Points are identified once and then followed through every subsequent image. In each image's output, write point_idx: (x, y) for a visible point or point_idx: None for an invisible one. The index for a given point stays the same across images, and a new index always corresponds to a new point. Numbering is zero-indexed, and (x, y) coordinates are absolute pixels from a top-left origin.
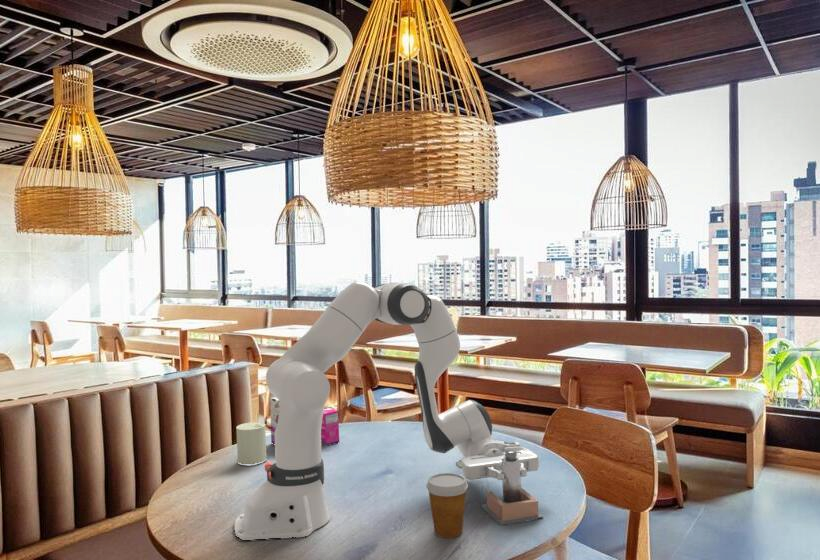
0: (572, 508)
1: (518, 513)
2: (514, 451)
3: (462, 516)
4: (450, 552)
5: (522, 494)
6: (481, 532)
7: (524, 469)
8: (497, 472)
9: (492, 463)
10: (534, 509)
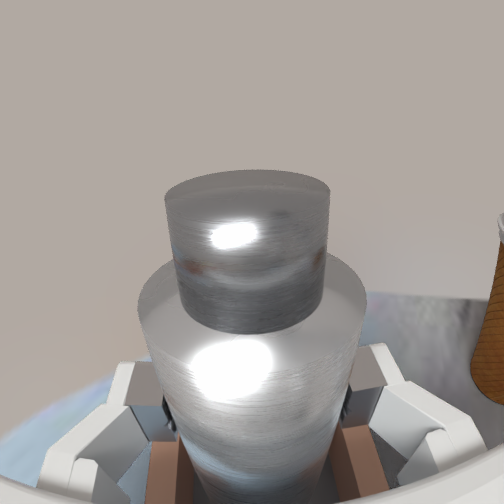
0: (27, 436)
1: None
2: (194, 187)
3: (485, 316)
4: (472, 301)
5: (178, 498)
6: (416, 370)
7: (131, 362)
8: (392, 360)
9: (449, 475)
10: None
